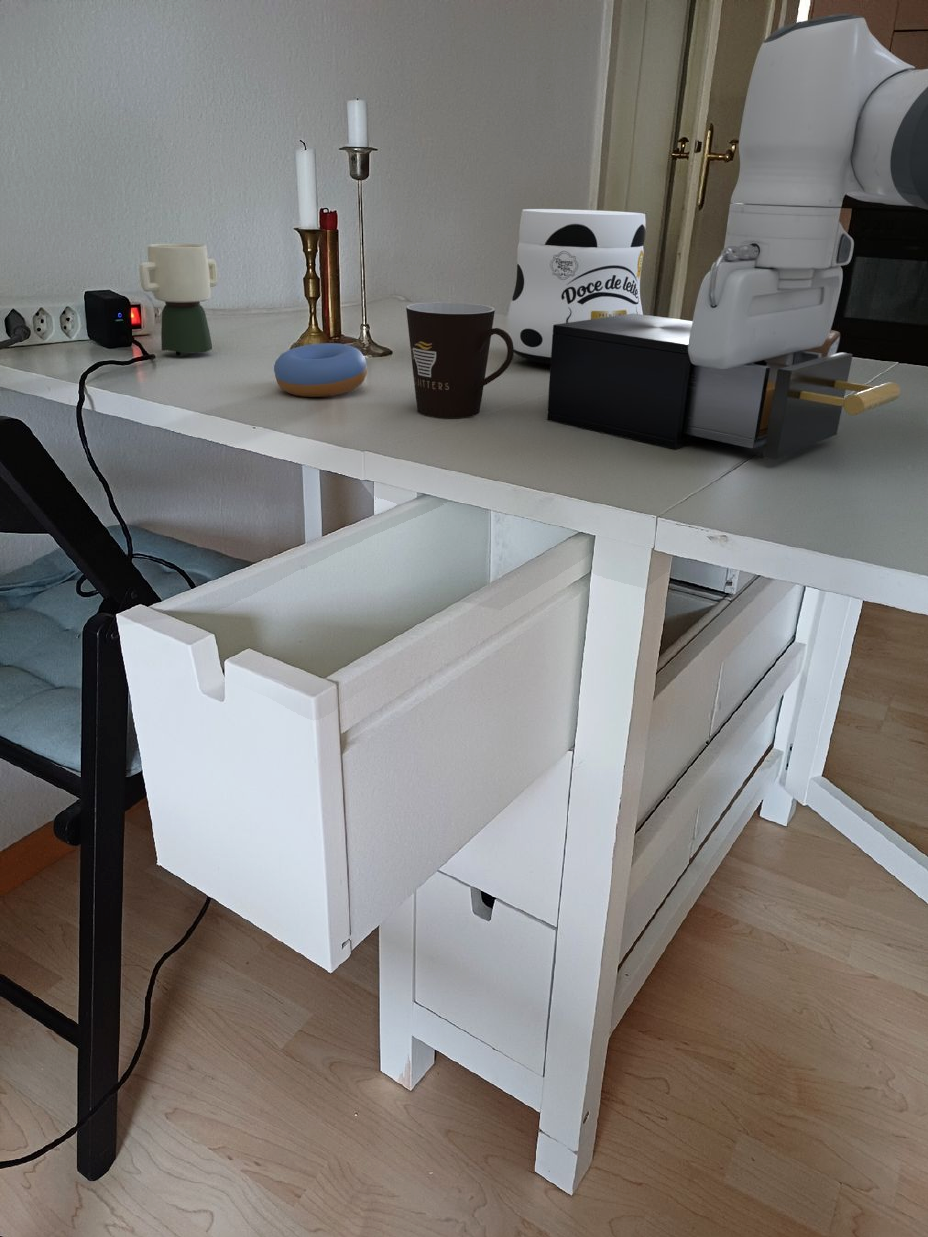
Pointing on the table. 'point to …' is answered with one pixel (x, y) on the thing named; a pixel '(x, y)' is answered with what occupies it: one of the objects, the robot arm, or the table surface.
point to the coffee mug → (452, 356)
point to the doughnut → (320, 369)
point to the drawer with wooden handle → (777, 402)
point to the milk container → (573, 273)
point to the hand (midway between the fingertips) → (751, 407)
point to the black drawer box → (622, 377)
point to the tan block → (767, 405)
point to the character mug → (181, 293)
